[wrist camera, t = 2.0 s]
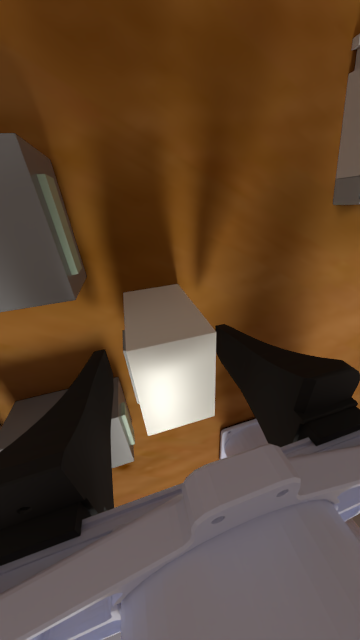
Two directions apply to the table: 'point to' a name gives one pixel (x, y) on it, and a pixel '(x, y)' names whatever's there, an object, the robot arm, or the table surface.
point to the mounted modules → (42, 273)
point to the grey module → (169, 357)
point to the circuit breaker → (350, 140)
